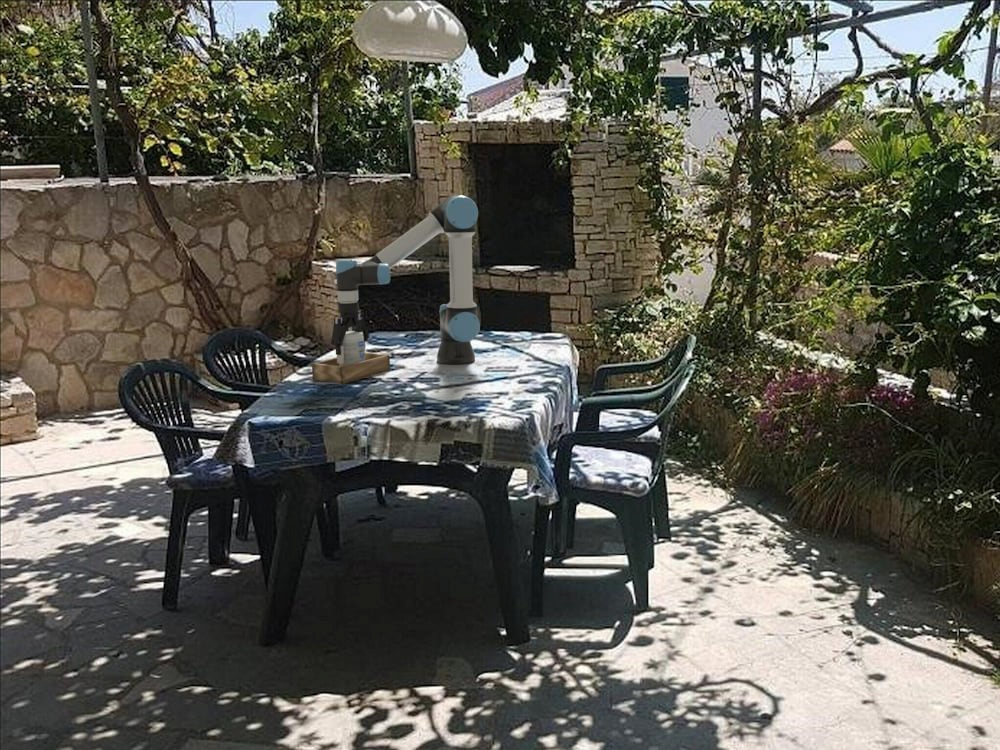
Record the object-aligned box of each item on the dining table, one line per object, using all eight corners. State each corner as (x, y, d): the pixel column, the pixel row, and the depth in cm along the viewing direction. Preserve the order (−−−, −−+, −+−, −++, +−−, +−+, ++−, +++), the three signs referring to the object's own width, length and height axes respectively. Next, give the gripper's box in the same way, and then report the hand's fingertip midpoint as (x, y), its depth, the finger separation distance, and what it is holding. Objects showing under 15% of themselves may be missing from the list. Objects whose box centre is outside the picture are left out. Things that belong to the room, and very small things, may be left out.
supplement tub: (366, 373, 325) (364, 334, 322) (340, 375, 323) (338, 335, 320) (364, 368, 334) (362, 330, 331) (338, 370, 332) (336, 331, 329)
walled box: (390, 370, 335) (389, 355, 334) (343, 383, 314) (342, 367, 313) (360, 366, 343) (359, 351, 342) (312, 379, 322) (311, 363, 321)
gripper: (361, 297, 334) (364, 354, 339) (318, 305, 315) (321, 365, 320) (376, 298, 330) (379, 356, 335) (333, 306, 311) (337, 367, 316)
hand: (351, 360), depth 328 cm, fingers open, 11 cm apart
